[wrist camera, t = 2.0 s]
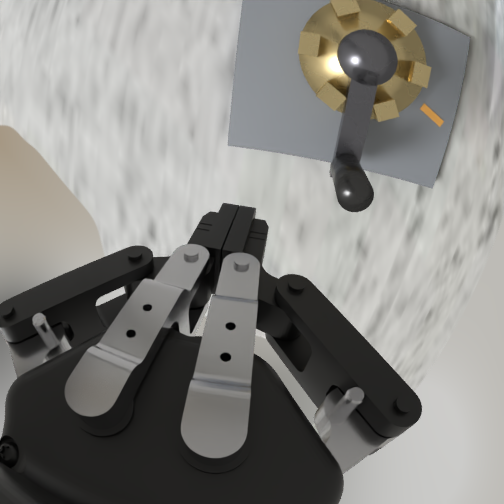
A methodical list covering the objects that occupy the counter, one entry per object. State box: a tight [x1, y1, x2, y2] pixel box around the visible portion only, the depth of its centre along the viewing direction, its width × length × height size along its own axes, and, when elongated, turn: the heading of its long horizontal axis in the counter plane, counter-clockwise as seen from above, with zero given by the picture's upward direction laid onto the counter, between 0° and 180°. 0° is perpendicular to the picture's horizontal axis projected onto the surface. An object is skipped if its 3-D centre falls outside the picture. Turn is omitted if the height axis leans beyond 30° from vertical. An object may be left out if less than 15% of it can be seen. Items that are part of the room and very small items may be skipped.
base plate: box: [228, 0, 470, 188], centre depth 21 cm, size 16×20×2 cm
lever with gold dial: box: [298, 0, 431, 212], centre depth 18 cm, size 15×10×8 cm, turn 174°
